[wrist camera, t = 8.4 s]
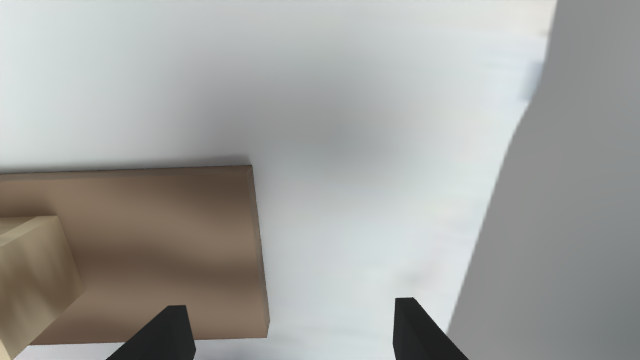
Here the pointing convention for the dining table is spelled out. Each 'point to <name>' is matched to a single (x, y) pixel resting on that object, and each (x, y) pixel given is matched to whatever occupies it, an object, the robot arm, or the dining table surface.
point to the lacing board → (152, 248)
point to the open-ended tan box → (33, 279)
